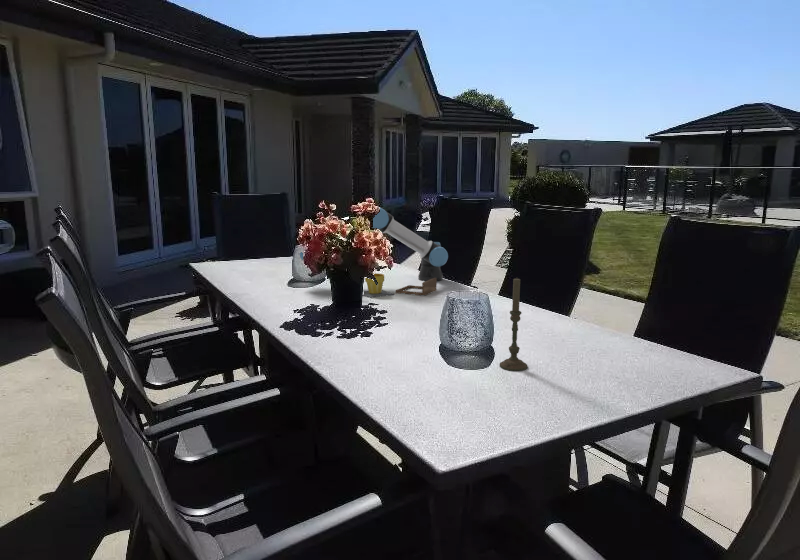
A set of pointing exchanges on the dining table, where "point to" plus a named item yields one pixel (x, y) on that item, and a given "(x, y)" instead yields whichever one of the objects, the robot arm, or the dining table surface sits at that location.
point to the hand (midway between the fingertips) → (358, 257)
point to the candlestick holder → (514, 333)
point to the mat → (383, 293)
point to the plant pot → (372, 286)
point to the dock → (426, 288)
